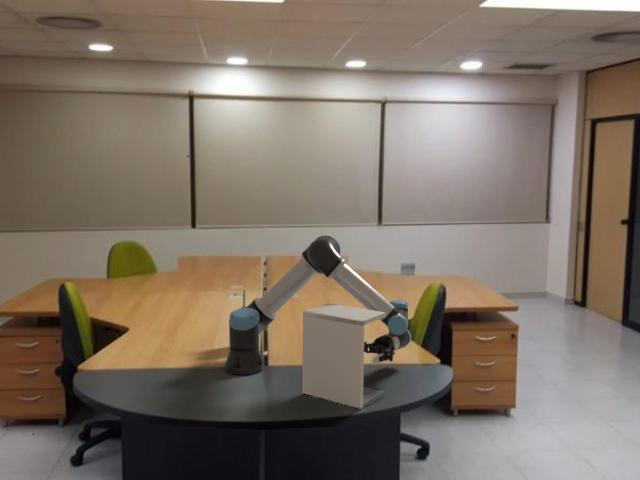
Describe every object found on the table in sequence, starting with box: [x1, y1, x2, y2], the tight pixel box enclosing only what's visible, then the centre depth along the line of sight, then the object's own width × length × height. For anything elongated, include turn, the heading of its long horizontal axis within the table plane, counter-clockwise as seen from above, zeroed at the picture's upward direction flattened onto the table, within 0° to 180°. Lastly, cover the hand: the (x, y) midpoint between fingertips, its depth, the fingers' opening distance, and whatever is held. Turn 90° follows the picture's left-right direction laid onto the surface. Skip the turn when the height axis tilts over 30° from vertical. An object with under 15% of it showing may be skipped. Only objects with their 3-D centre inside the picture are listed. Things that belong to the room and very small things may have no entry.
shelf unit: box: [301, 303, 386, 408], centre depth 215 cm, size 16×24×30 cm, turn 55°
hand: (357, 357), depth 222 cm, fingers open, 13 cm apart
